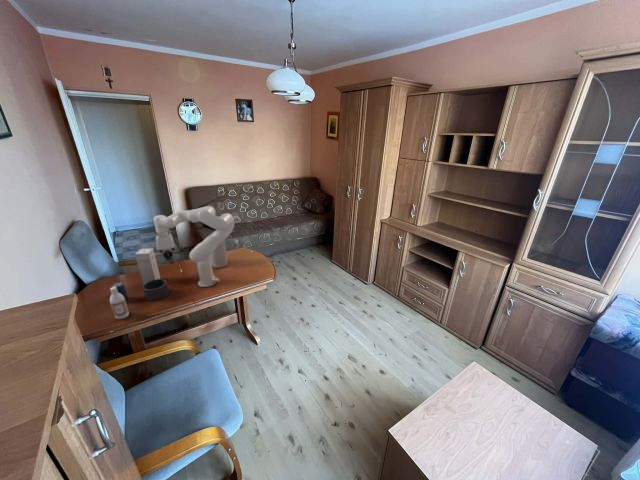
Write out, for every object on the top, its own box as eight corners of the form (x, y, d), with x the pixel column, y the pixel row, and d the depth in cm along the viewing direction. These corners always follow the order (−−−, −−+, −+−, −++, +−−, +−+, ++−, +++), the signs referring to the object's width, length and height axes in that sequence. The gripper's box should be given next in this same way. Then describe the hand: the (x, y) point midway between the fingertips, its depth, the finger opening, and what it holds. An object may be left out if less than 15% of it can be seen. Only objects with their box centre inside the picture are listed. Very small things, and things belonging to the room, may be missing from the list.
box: (160, 278, 200) (153, 248, 190) (156, 284, 192) (148, 253, 183) (148, 279, 198) (140, 249, 189) (143, 285, 191) (135, 254, 181)
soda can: (126, 295, 178) (121, 280, 174) (129, 299, 174) (124, 284, 170) (113, 300, 174) (108, 284, 169) (117, 304, 169) (112, 288, 165)
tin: (172, 289, 186) (170, 279, 183) (162, 301, 174) (159, 290, 171) (153, 289, 186) (150, 278, 183) (141, 300, 174) (138, 290, 170)
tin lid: (184, 255, 194) (182, 246, 191) (174, 264, 181) (172, 255, 178) (164, 254, 194) (162, 245, 191) (152, 264, 180) (150, 254, 177)
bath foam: (115, 321, 155) (105, 292, 147) (115, 314, 160) (106, 286, 153) (129, 317, 159) (120, 289, 151) (129, 310, 164) (120, 283, 156)
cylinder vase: (209, 264, 222) (205, 236, 212) (223, 259, 229) (220, 233, 220) (215, 269, 213) (211, 241, 203) (230, 265, 221) (226, 237, 211)
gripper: (176, 229, 186) (180, 253, 193) (149, 233, 178) (155, 257, 185) (177, 233, 180) (182, 257, 187) (149, 237, 172) (155, 262, 179)
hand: (168, 257), depth 186 cm, fingers closed on tin lid, 2 cm apart
